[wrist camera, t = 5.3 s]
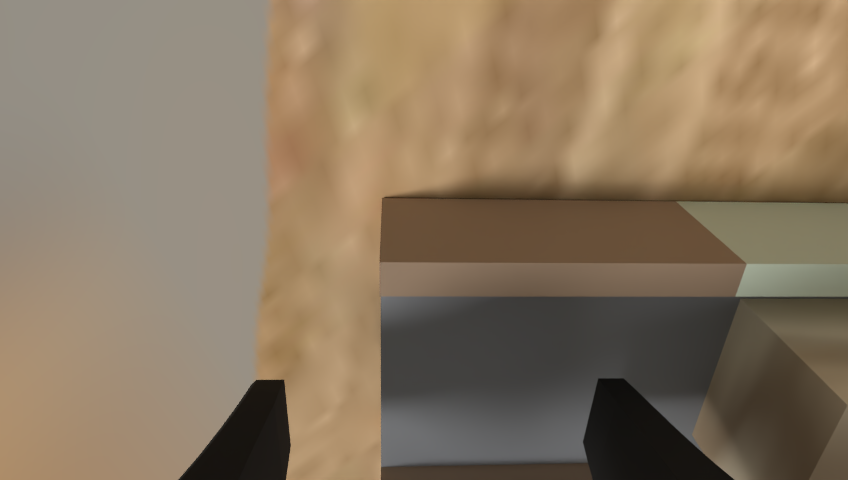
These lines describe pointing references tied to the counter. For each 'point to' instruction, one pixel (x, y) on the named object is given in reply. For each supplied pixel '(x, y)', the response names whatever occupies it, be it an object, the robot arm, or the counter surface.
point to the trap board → (569, 317)
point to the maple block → (780, 393)
